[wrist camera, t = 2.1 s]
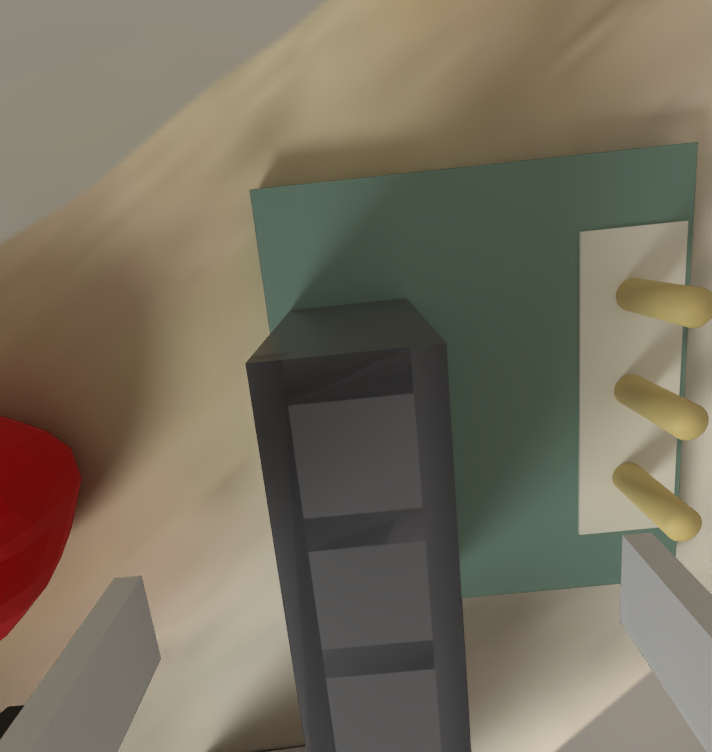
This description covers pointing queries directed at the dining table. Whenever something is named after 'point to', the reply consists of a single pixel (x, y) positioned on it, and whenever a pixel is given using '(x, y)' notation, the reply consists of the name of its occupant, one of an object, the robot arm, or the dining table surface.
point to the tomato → (32, 514)
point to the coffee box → (291, 750)
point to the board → (527, 339)
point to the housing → (365, 525)
